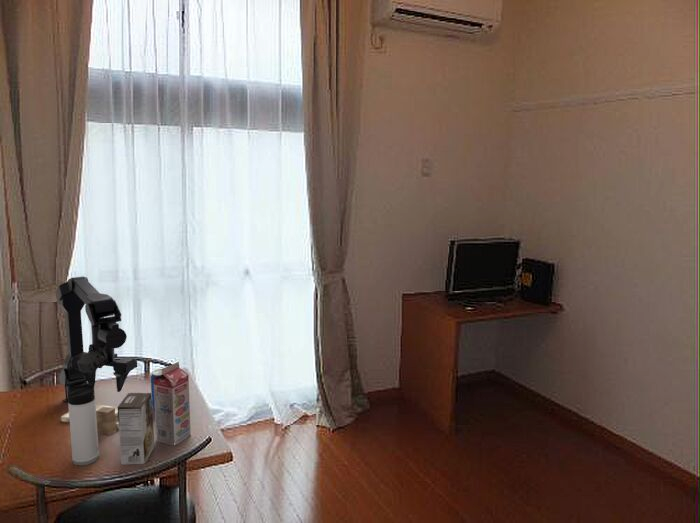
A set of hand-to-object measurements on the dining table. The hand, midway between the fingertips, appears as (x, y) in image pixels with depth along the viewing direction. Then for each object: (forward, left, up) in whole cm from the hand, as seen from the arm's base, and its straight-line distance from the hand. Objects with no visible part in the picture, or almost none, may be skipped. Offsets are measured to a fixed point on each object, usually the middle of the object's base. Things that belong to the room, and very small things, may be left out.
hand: (105, 389), depth 156 cm
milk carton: (+23, -2, -12) cm, 26 cm away
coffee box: (+19, -13, -12) cm, 26 cm away
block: (+2, +1, -12) cm, 12 cm away
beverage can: (+8, +16, -12) cm, 21 cm away
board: (-5, +4, -12) cm, 13 cm away
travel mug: (+7, -18, -12) cm, 23 cm away
